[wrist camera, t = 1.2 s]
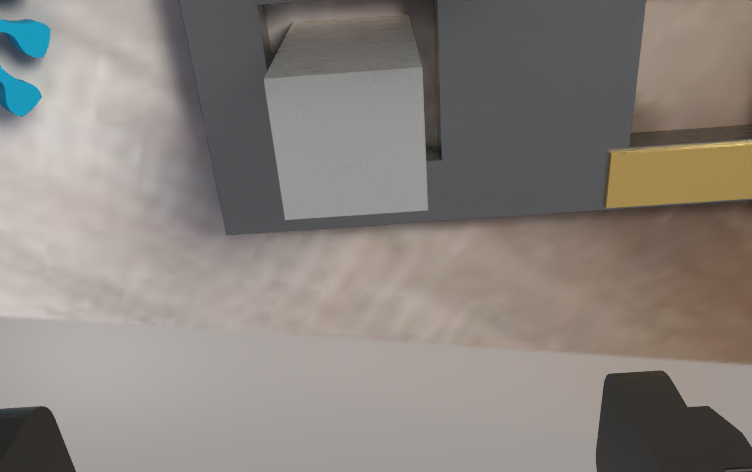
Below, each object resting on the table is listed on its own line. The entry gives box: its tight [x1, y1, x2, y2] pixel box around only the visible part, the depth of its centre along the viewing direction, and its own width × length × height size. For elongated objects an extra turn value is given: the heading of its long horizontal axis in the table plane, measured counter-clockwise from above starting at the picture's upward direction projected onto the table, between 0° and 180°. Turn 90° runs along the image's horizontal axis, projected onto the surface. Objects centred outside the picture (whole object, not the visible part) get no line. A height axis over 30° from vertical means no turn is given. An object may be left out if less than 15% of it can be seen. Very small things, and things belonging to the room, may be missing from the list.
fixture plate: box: [179, 0, 752, 235], centre depth 26 cm, size 26×12×2 cm, turn 94°
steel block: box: [264, 14, 428, 220], centre depth 24 cm, size 4×4×8 cm
